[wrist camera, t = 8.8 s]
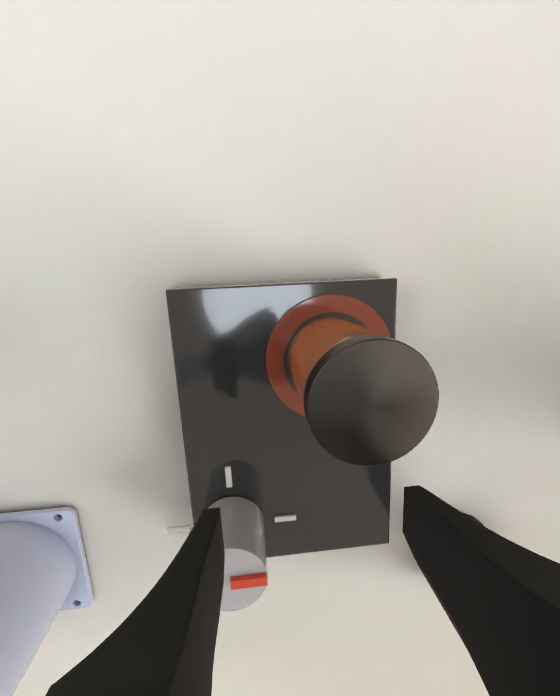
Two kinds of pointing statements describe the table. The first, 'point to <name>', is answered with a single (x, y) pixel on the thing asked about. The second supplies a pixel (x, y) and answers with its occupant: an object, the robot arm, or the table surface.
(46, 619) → the robot arm
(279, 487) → the hob
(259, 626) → the table surface
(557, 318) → the table surface
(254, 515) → the hob knob
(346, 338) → the jar
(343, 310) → the burner
